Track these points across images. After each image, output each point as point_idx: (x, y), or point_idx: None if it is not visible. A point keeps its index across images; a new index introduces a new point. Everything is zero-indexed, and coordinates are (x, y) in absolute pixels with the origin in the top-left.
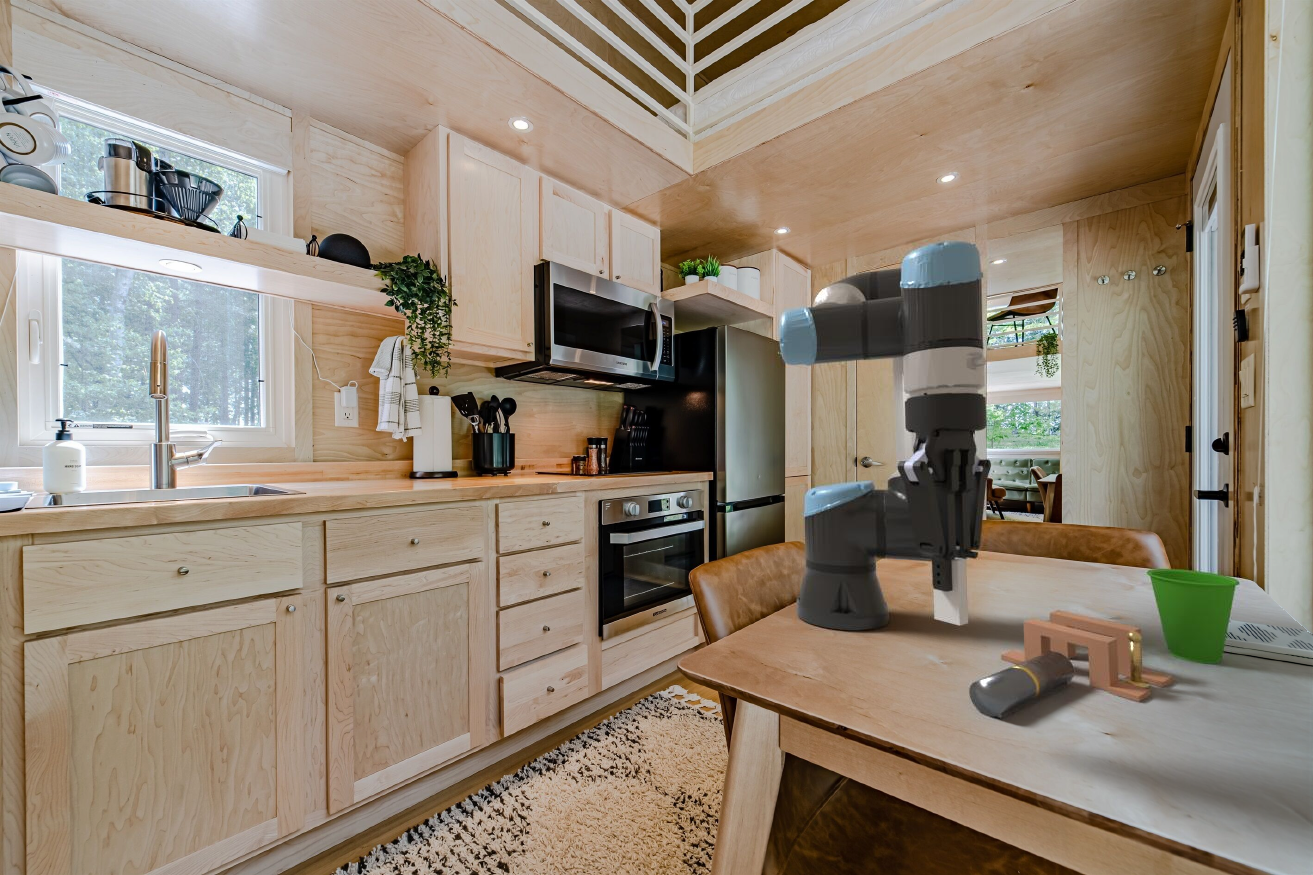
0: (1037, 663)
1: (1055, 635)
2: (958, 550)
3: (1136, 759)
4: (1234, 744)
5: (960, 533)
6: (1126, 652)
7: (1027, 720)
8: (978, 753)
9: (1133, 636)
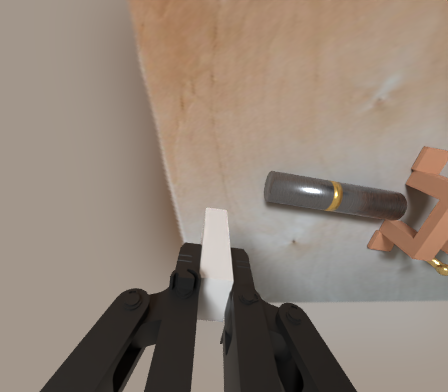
0: (356, 209)
1: (434, 215)
2: (225, 327)
3: (266, 257)
4: (326, 284)
5: (225, 380)
6: (445, 246)
7: (278, 203)
8: (198, 196)
9: (440, 271)
